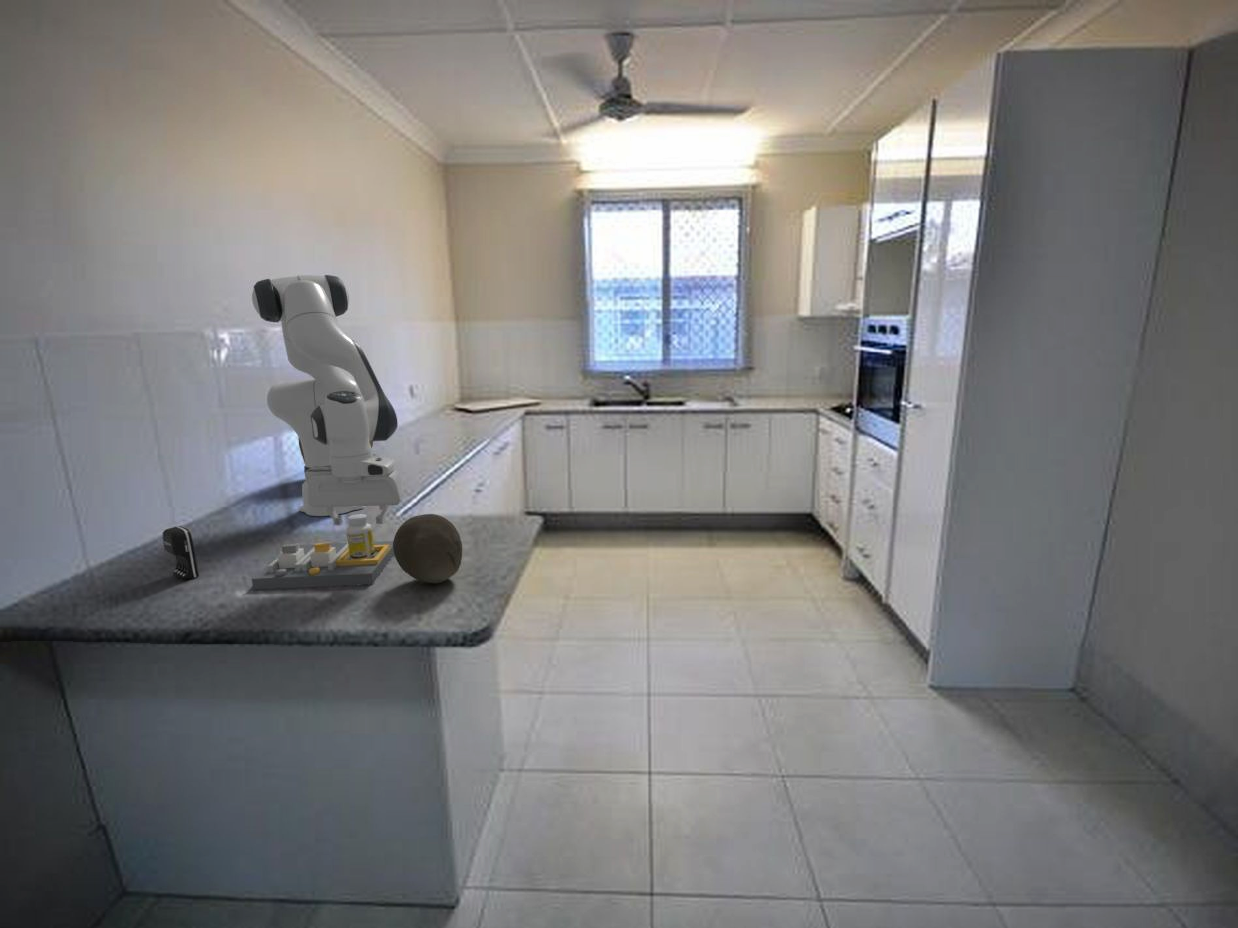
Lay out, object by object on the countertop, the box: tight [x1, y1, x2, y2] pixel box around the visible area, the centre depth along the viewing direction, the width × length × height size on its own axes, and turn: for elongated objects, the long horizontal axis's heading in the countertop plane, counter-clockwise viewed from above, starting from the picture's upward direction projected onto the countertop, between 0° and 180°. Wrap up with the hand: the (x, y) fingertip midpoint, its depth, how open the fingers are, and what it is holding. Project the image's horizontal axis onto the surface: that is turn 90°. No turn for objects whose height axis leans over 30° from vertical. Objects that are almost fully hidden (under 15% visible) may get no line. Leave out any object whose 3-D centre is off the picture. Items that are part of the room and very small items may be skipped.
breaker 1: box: [276, 543, 305, 568], centre depth 139 cm, size 4×4×5 cm
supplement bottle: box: [345, 513, 375, 559], centre depth 143 cm, size 5×5×10 cm
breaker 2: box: [310, 542, 336, 567], centre depth 140 cm, size 4×4×5 cm
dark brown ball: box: [392, 513, 463, 584], centre depth 134 cm, size 14×14×15 cm
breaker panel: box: [251, 540, 395, 591], centre depth 144 cm, size 20×25×4 cm
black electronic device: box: [162, 525, 200, 581], centre depth 140 cm, size 7×4×11 cm, turn 55°
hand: (359, 523), depth 143 cm, fingers open, 8 cm apart
